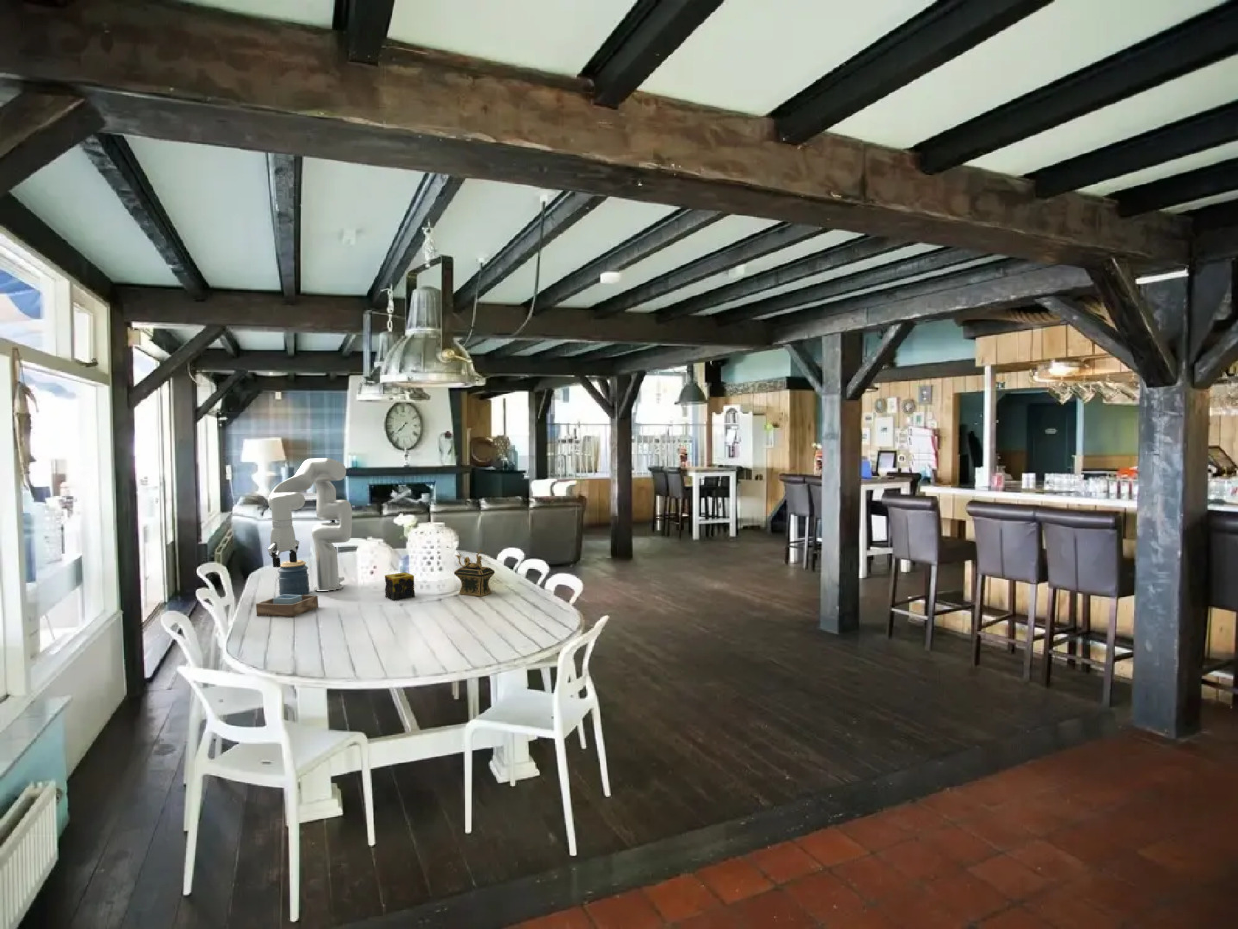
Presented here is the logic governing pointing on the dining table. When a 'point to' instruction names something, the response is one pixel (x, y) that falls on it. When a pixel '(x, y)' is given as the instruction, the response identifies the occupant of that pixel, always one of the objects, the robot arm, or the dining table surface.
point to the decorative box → (474, 577)
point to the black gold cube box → (399, 586)
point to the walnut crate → (287, 607)
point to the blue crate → (287, 599)
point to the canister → (293, 578)
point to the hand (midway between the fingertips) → (285, 564)
